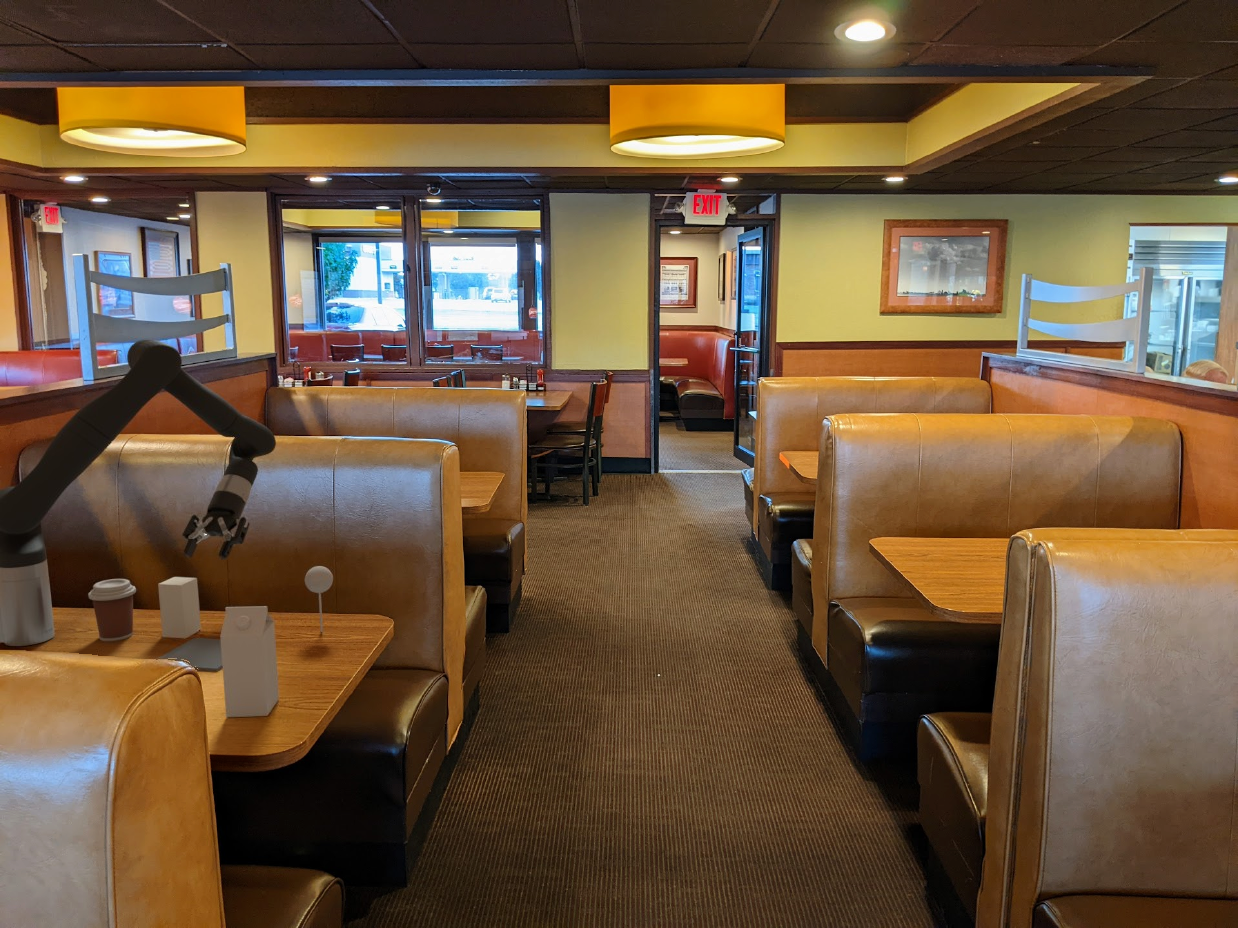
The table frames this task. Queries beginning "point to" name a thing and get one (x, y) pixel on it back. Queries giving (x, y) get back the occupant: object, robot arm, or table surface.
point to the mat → (199, 654)
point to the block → (179, 607)
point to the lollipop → (319, 583)
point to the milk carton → (249, 661)
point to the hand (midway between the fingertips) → (204, 556)
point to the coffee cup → (113, 608)
